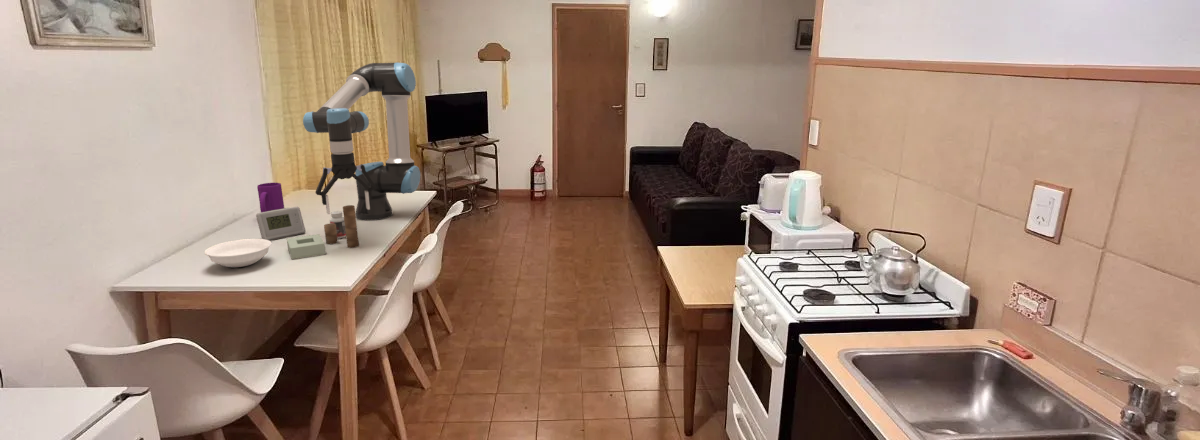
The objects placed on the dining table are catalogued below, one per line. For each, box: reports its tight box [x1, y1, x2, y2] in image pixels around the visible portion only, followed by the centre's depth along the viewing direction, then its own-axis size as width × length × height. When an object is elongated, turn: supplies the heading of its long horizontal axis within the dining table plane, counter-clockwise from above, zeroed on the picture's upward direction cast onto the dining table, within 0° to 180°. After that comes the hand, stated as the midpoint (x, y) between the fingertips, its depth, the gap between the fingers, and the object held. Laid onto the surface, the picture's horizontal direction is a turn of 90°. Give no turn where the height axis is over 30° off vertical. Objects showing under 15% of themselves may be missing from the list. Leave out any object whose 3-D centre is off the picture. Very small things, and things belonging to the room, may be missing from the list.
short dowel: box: [323, 222, 339, 245], centre depth 238 cm, size 4×4×7 cm
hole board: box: [286, 233, 327, 260], centre depth 228 cm, size 11×14×4 cm
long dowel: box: [342, 204, 360, 249], centre depth 232 cm, size 4×4×15 cm
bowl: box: [203, 238, 272, 268], centre depth 214 cm, size 20×20×6 cm
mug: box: [257, 182, 285, 213], centre depth 270 cm, size 9×16×15 cm, turn 8°
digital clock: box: [255, 206, 306, 241], centre depth 247 cm, size 16×9×11 cm, turn 123°
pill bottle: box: [329, 210, 346, 239], centre depth 245 cm, size 5×5×10 cm
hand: (348, 211), depth 231 cm, fingers open, 13 cm apart
